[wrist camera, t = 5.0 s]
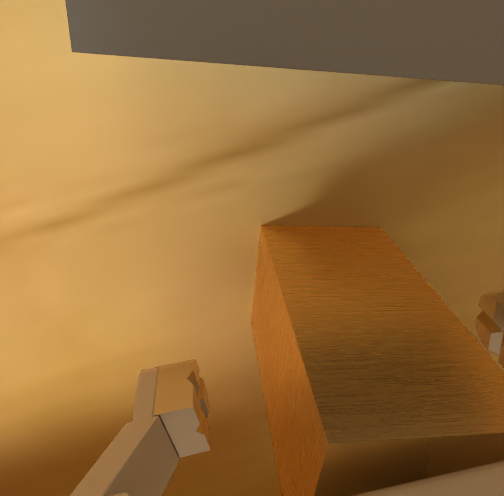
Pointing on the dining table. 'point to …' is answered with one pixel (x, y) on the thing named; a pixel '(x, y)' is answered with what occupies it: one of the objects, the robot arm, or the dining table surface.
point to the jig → (303, 34)
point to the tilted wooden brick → (365, 366)
